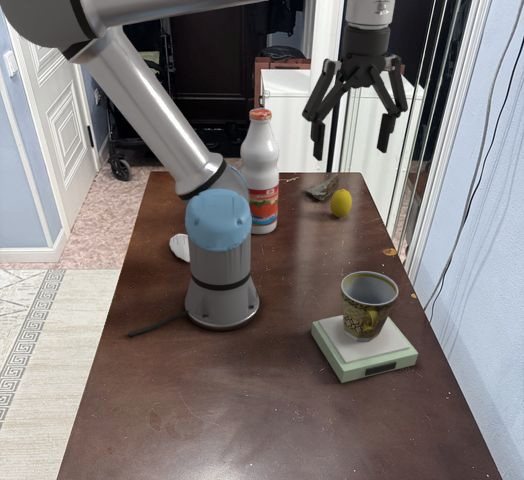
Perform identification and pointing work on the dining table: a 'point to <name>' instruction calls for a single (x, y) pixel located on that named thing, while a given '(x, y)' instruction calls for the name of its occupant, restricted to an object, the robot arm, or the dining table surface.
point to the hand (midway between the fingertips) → (349, 154)
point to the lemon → (341, 203)
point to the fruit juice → (261, 171)
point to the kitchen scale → (362, 350)
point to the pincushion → (180, 246)
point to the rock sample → (324, 188)
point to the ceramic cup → (366, 304)
